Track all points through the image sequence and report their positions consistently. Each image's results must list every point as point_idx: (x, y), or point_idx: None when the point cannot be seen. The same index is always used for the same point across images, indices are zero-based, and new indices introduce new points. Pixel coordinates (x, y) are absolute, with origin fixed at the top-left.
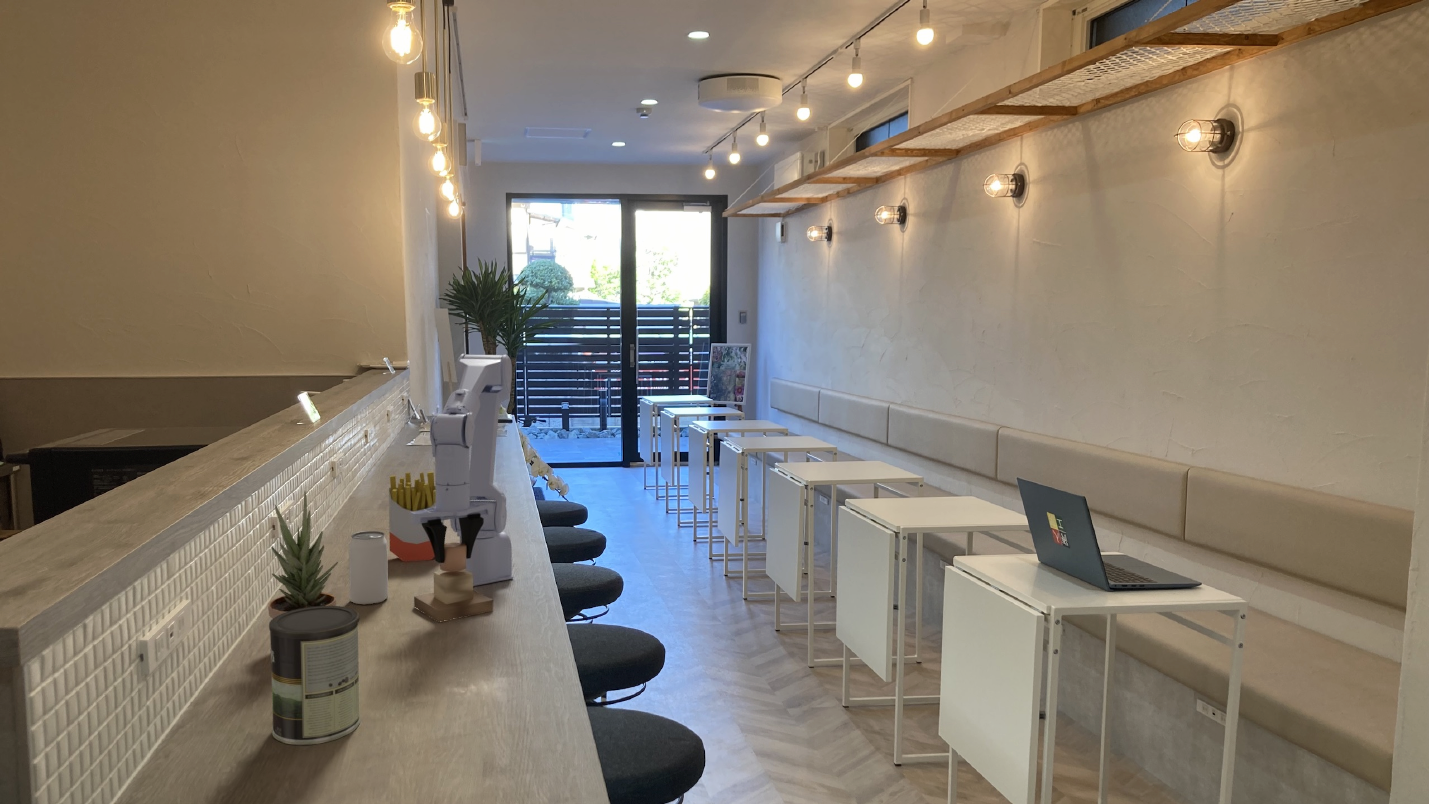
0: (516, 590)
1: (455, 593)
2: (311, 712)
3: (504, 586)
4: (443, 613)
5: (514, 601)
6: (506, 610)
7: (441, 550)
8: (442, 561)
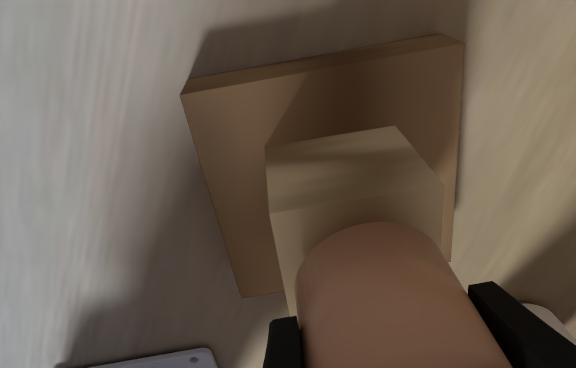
0: (52, 276)
1: (358, 151)
2: None
3: (92, 324)
4: (434, 43)
5: (74, 163)
6: (126, 60)
7: (563, 349)
8: (488, 288)
